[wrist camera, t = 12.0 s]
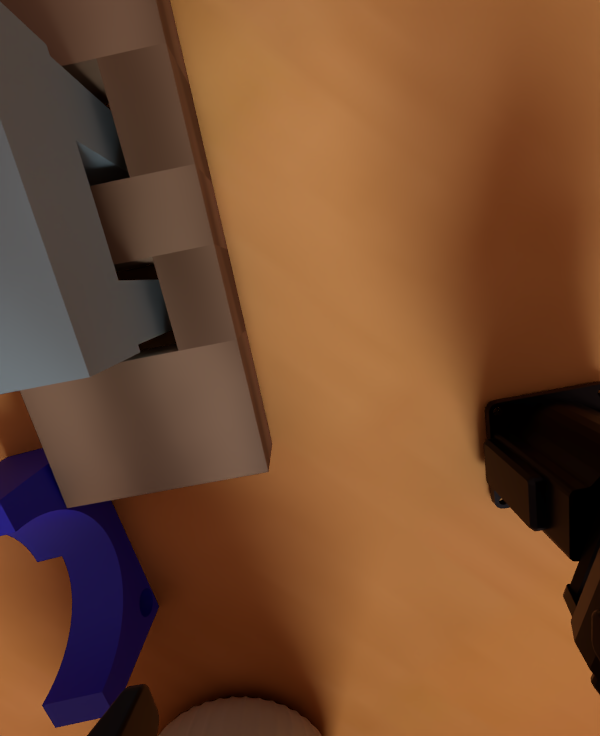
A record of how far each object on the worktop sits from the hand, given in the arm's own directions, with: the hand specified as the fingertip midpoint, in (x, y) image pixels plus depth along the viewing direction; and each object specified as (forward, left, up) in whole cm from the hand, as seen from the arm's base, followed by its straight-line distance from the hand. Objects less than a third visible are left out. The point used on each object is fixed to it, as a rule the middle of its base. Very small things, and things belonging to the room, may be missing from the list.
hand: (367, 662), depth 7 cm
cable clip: (+15, +5, -13) cm, 21 cm away
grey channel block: (+8, -11, -13) cm, 19 cm away
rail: (+8, -11, -13) cm, 19 cm away
